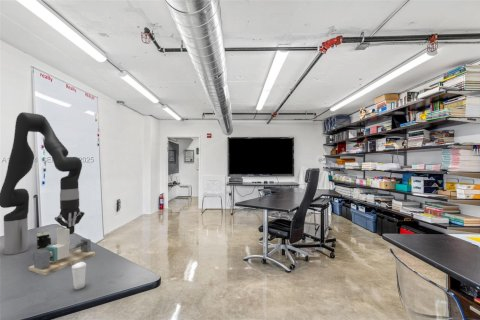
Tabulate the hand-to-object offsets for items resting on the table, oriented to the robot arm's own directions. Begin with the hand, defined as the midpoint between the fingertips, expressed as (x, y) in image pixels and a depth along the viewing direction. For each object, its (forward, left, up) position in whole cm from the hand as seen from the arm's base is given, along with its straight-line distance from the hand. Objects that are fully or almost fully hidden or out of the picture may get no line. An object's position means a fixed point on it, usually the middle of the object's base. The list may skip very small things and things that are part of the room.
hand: (70, 233), depth 114 cm
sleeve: (0, -5, -9) cm, 11 cm away
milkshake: (+29, -15, -13) cm, 35 cm away
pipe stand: (0, -3, -13) cm, 13 cm away
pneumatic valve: (-20, -1, -13) cm, 24 cm away
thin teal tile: (0, -8, -9) cm, 12 cm away
